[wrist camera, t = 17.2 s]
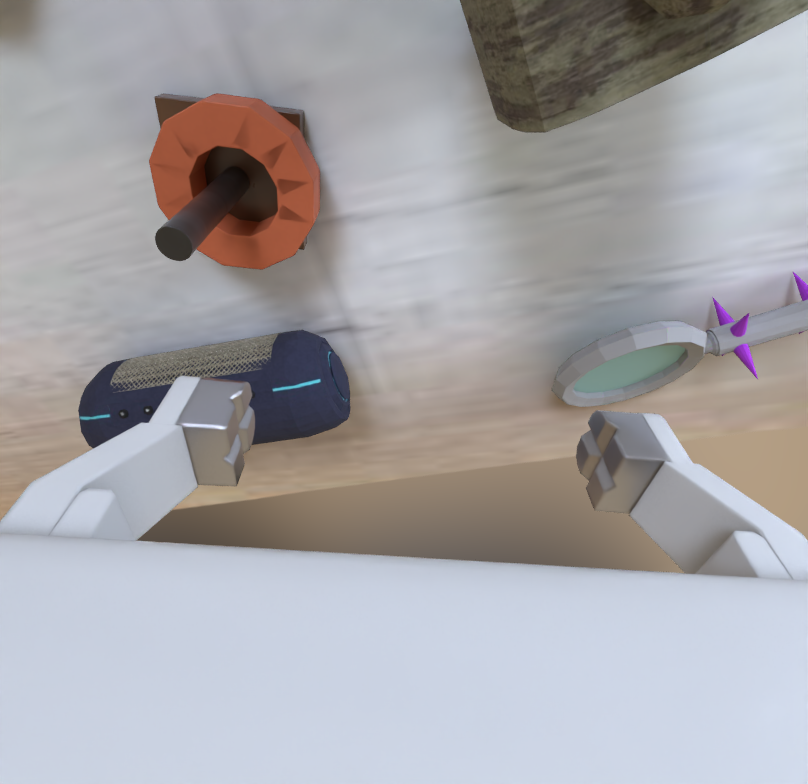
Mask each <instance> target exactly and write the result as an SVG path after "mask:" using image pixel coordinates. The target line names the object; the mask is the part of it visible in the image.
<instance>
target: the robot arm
mask: <svg viewBox="0 0 808 784" xmlns="http://www.w3.org/2000/svg"><path fill="white" fill-rule="evenodd" d="M251 397H252V393H251V387H250V384H249V383H248V382H243V381H234V380H224V379H214V378H201V377H191V376H180V377H178V378H177V379H176V380H175V381H174V383H173V385H172V386H171V388H170V389H169V391H168V393H167V394H166V396H165V397H164V399H163V400H162V402H161V404H160V405H159V407H158V408H157V410H156V412H155V413H154V415H153V416H152V418H151V420H150V421H149V423H140V424H138V425H136V426H134V427H132V428H131V429H129V430H127V431H125V432H123V433H121V434H120V435H118V436H116V437H114V438H112V439H110V440H108V441H107V442H105V443H103V444H101V445H99V446H97V447H96V448H94V449H92V450H90V451H88V452H86V453H85V454H83V455H81V456H79V457H77V458H75V459H73V460H72V461H70V462H68V463H66V464H64V465H62V466H61V467H59V468H57V469H55V470H53V471H51V472H50V473H48V474H46V475H44V476H42V477H40V478H38V479H37V480H35V481H33V482H31V483H30V485H29V486H28V487H27V488H26V490H25V491H24V492H23V493H22V495H21V496H20V497H19V498H18V500H17V501H16V502H15V503H14V505H13V506H12V507H11V508H10V510H9V511H8V512H7V513H6V515H5V516H4V517H3V518H2V520H1V521H0V784H808V541H807V540H806V538H805V537H804V536H803V534H802V533H800V532H799V531H797V530H796V529H794V528H793V527H791V526H790V525H788V524H787V523H785V522H784V521H783V520H781V519H780V518H778V517H777V516H775V515H773V514H772V513H771V512H769V511H767V510H766V509H765V508H763V507H762V506H760V505H759V504H757V503H756V502H755V501H753V500H752V499H750V498H749V497H747V496H746V495H744V494H743V493H741V492H740V491H738V490H737V489H735V488H734V487H732V486H731V485H730V484H728V483H727V482H725V481H724V480H722V479H721V478H719V477H718V476H716V475H715V474H713V473H712V472H710V471H709V470H707V469H706V468H704V467H703V466H701V465H700V464H693V463H692V461H691V459H690V458H689V456H688V455H687V453H686V452H685V450H684V449H683V447H682V446H681V444H680V442H679V441H678V439H677V438H676V436H675V434H674V433H673V431H672V430H671V428H670V427H669V425H668V424H667V422H666V420H665V419H664V418H663V417H662V416H660V415H659V414H648V413H637V414H636V413H625V412H612V411H598V410H596V411H595V412H594V413H593V414H592V415H591V418H590V420H589V422H588V424H589V426H590V428H591V430H590V431H588V432H587V433H585V434H584V435H582V436H581V439H580V441H579V443H578V446H577V454H576V459H577V465H578V468H579V471H580V473H581V474H582V475H583V476H584V477H585V478H587V479H588V480H589V483H588V485H587V487H586V490H587V492H588V495H589V497H590V500H591V503H592V505H593V508H594V510H596V511H606V512H618V513H628V514H630V515H629V516H630V517H631V518H632V519H633V520H634V521H635V522H636V523H637V524H638V525H639V526H640V527H641V528H642V529H643V530H644V531H645V532H646V533H647V534H648V535H649V536H650V537H651V538H652V539H653V540H654V542H655V543H657V545H658V546H659V547H660V548H661V549H662V550H663V551H664V552H665V553H666V554H667V555H668V556H669V557H670V558H671V559H672V560H673V561H674V562H675V563H676V564H677V565H678V566H679V567H680V568H681V569H682V570H683V571H684V572H685V573H670V572H654V571H636V570H619V569H603V568H586V567H569V566H553V565H536V564H518V563H502V562H484V561H468V560H450V559H434V558H417V557H399V556H384V555H366V554H349V553H333V552H316V551H315V552H314V551H298V550H282V549H264V548H247V547H230V546H214V545H197V544H180V543H164V542H146V541H136V540H137V539H138V538H140V537H141V536H142V535H143V534H144V533H145V532H147V531H148V530H149V529H150V528H151V527H152V526H153V525H155V524H156V523H157V522H158V521H159V520H160V519H162V518H163V517H164V516H165V515H166V514H167V513H168V512H170V511H171V510H172V509H173V508H174V507H175V506H176V505H178V504H179V503H180V502H181V501H182V500H183V499H185V498H186V497H187V496H188V495H189V494H190V493H191V492H193V491H194V490H195V489H196V488H197V487H198V485H215V486H237V484H238V481H239V478H240V475H241V473H242V470H243V467H244V464H245V463H244V456H243V454H244V453H246V452H247V451H248V450H250V447H251V444H252V441H253V437H254V430H255V415H254V410H253V409H252V408H251V407H250V406H249V403H250V400H251Z"/></svg>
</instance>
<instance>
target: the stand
mask: <svg viewBox="0 0 808 784" xmlns="http://www.w3.org/2000/svg"><path fill="white" fill-rule="evenodd" d="M202 99H204V98H196V97H188V96H179V95H171V94H161V95H158V96H155V103H156V108H157V113H158V118H159V123H160V128H161V127H162V124H163V122H164V121H165V120H167V119H169V118H170V117H172V116H174V115H176V114H177V113H179V112H181V111H183V110H184V109H186V108H188V107H190V106H191V105H193V104H195V103H197V102H198V101H200V100H202ZM270 107H271V108H273V109H274V110H275V111H277V112H278V113H279V114H280V115H282V116H283V117H284V118H286V119H287V120H288V121H290V122H291V123H292V124H294V125H295V126H296V127H298V129H299V130H300V132H301V134H302V136H303V138H304V118H303V110H297V109H289V108H281V107H272V106H270ZM204 168H205V175H206V182H207V187H206V188H205V189H203V190H202V191H201V192H200V193H199V194H198V195H197V196H196V197H195V198H193V199H192V200H191V201H190V202H189V203H188V204H187V205H186V206H184V207H183V208H182V209H181V210H180V211H179V212H178V213H177V214H176V215H174V216H173V217H172V218H171V219H170V220H169V221H168V222H167V223H165V224H164V225H163V226H162V227H161V228H160V229H159V230H158V231H157V233H156V236H155V241H156V245H157V247H158V249H159V250H160V251H161V253H162V254H164V255H165V256H166V257H168V258H170V259H172V260H176V261H183V260H186V259H188V258H189V257H190V256H191V255H192V254H193V252H194V251H195V250H196V249H197V248H198V247H199V246H200V244H201V243H202V242H203V241H204V240H205V239H206V237H207V236H208V235H209V234H210V233H211V232H212V231H213V229H214V228H215V227H216V226H217V225H218V224H219V223H220V221H221V220H222V219H223V218H224V217H225V216H226V214H227V213H230V214H231V215H233V216H234V217H236V218H237V219H239V220H246V221H254V222H261V221H263V220H265V219H267V218H269V217H272V216H274V215H276V213H277V211H278V201H277V187H276V185H275V183H274V182H273V180H272V178H271V176H270V175H269V173H268V171H267V169H266V168H265V166H264V165H263V164H262V163H261V162H259V161H258V160H256V159H255V158H254V157H252V156H251V155H249V154H248V153H246V152H245V151H244V150H242V149H236V148H228V147H220V146H217V147H215V148H213V149H212V150H211V151H210V153H209V156H208V158H207V160H206V163H205V165H204ZM306 244H307V236H306V238H305V239H304V241H303V242H302V244H301V246H300V247H299V249H303V250H304V248H305V246H306Z"/></svg>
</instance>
